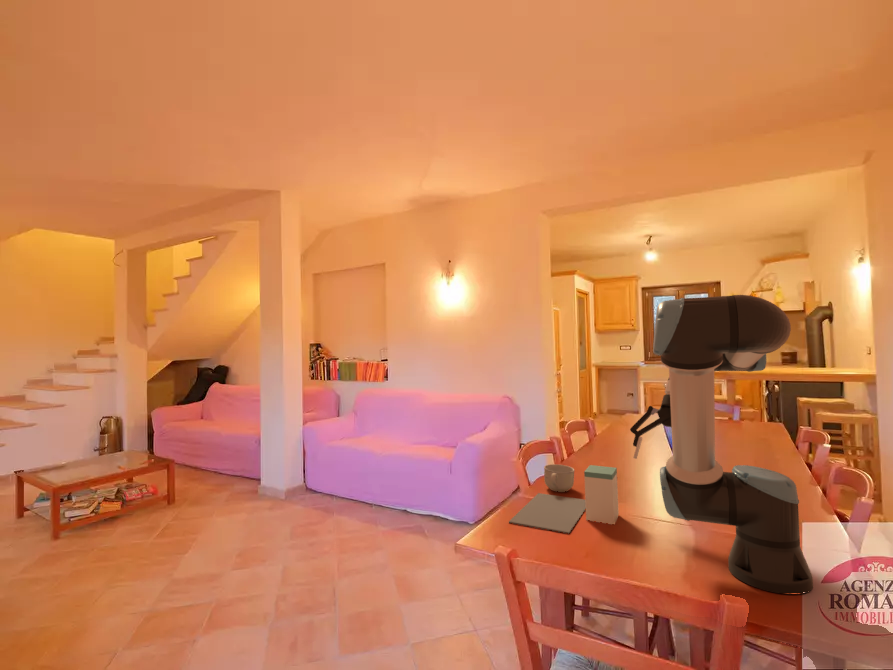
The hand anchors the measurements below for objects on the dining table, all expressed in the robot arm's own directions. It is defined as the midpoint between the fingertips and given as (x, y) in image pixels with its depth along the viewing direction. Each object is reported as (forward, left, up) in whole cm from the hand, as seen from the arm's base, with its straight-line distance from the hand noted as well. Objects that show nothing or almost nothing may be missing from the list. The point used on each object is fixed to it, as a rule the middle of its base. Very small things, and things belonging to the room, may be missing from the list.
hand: (659, 466), depth 129 cm
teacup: (+16, +35, -17) cm, 42 cm away
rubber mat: (-5, +31, -16) cm, 36 cm away
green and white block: (-3, +16, -16) cm, 23 cm away
